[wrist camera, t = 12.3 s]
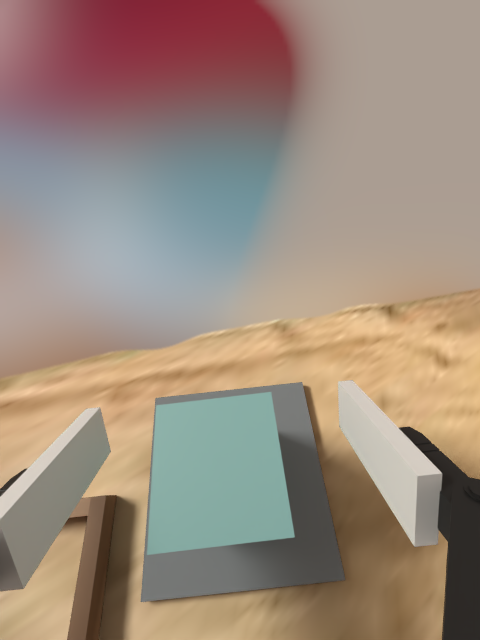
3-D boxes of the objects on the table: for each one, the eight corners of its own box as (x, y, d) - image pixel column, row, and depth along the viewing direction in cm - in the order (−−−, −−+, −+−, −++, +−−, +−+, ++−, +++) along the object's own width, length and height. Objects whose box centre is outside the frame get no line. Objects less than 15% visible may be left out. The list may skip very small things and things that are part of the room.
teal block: (194, 528, 18) (146, 555, 10) (193, 437, 21) (156, 405, 13) (279, 518, 18) (294, 537, 10) (266, 429, 21) (271, 391, 13)
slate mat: (144, 598, 17) (140, 602, 16) (157, 400, 23) (155, 398, 23) (342, 577, 17) (345, 580, 16) (301, 384, 23) (302, 382, 23)
